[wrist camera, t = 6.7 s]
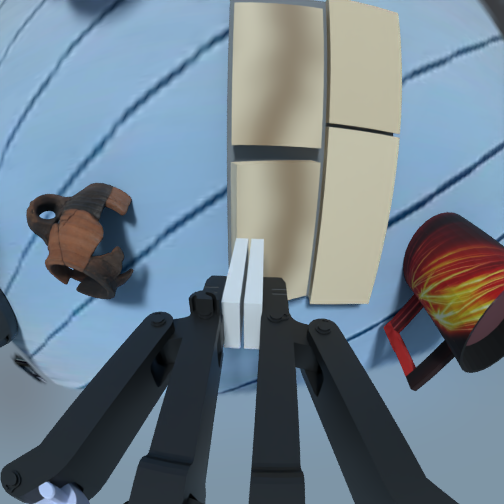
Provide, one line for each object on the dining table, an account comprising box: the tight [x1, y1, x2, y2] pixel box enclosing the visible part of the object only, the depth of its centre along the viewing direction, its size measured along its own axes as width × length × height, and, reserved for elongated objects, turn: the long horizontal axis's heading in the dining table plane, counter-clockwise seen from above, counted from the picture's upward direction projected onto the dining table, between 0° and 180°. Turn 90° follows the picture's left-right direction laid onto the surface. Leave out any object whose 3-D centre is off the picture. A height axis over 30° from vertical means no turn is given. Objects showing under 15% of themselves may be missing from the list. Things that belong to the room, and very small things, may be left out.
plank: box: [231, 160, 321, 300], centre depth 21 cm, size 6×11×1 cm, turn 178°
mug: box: [384, 212, 504, 391], centre depth 20 cm, size 10×14×12 cm
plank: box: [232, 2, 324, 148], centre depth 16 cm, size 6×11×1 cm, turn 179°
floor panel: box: [227, 0, 402, 304], centre depth 19 cm, size 13×26×2 cm, turn 179°
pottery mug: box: [27, 183, 134, 299], centre depth 22 cm, size 12×10×8 cm
